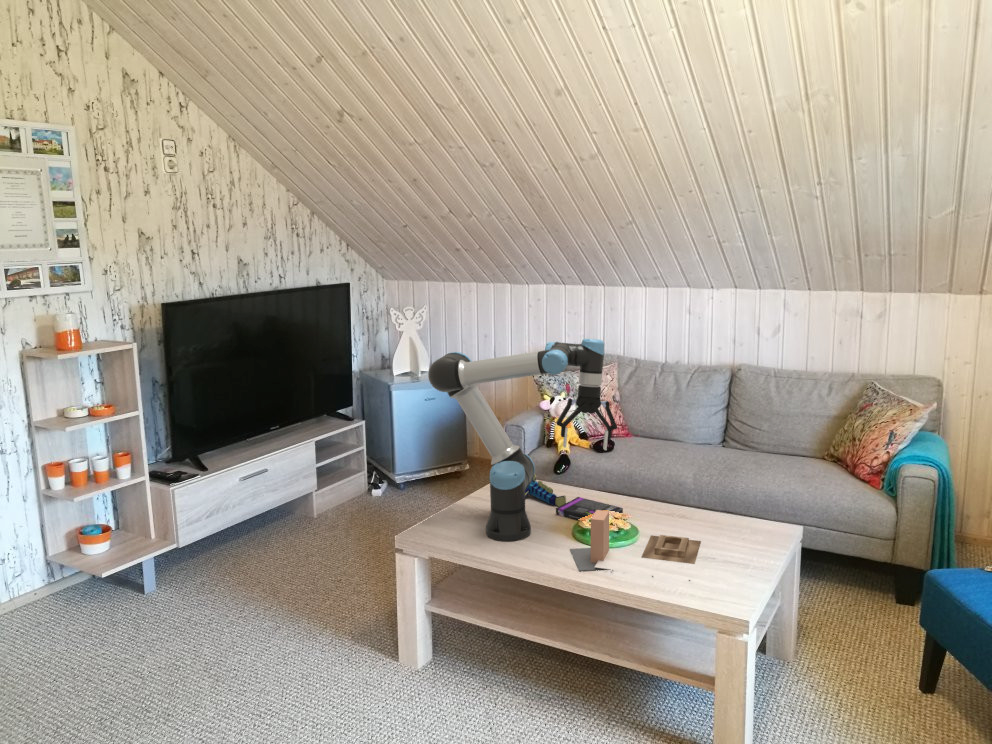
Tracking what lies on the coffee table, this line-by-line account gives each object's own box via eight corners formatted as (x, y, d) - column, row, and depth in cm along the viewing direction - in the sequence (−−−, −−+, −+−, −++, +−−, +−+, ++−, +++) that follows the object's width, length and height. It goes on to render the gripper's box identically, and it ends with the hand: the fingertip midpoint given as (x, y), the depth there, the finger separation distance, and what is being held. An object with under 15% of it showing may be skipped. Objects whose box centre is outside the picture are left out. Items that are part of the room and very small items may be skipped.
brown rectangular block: (590, 562, 245) (590, 518, 242) (596, 551, 253) (596, 509, 250) (603, 563, 244) (603, 520, 241) (609, 553, 251) (609, 511, 248)
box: (555, 517, 286) (601, 528, 274) (555, 507, 286) (601, 518, 273) (578, 505, 297) (623, 516, 284) (577, 496, 296) (623, 506, 283)
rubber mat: (579, 571, 240) (579, 570, 240) (570, 550, 255) (570, 548, 255) (631, 568, 241) (631, 567, 241) (619, 547, 257) (619, 546, 257)
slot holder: (641, 561, 245) (641, 551, 245) (650, 539, 262) (651, 529, 261) (694, 568, 240) (694, 557, 239) (701, 545, 257) (701, 535, 256)
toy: (534, 487, 314) (535, 463, 312) (578, 509, 296) (580, 484, 293) (507, 495, 306) (508, 471, 304) (551, 518, 287) (552, 492, 285)
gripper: (625, 386, 271) (619, 448, 273) (551, 381, 270) (546, 443, 272) (629, 389, 263) (623, 452, 265) (553, 384, 263) (548, 447, 265)
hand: (584, 448), depth 269 cm, fingers open, 13 cm apart
